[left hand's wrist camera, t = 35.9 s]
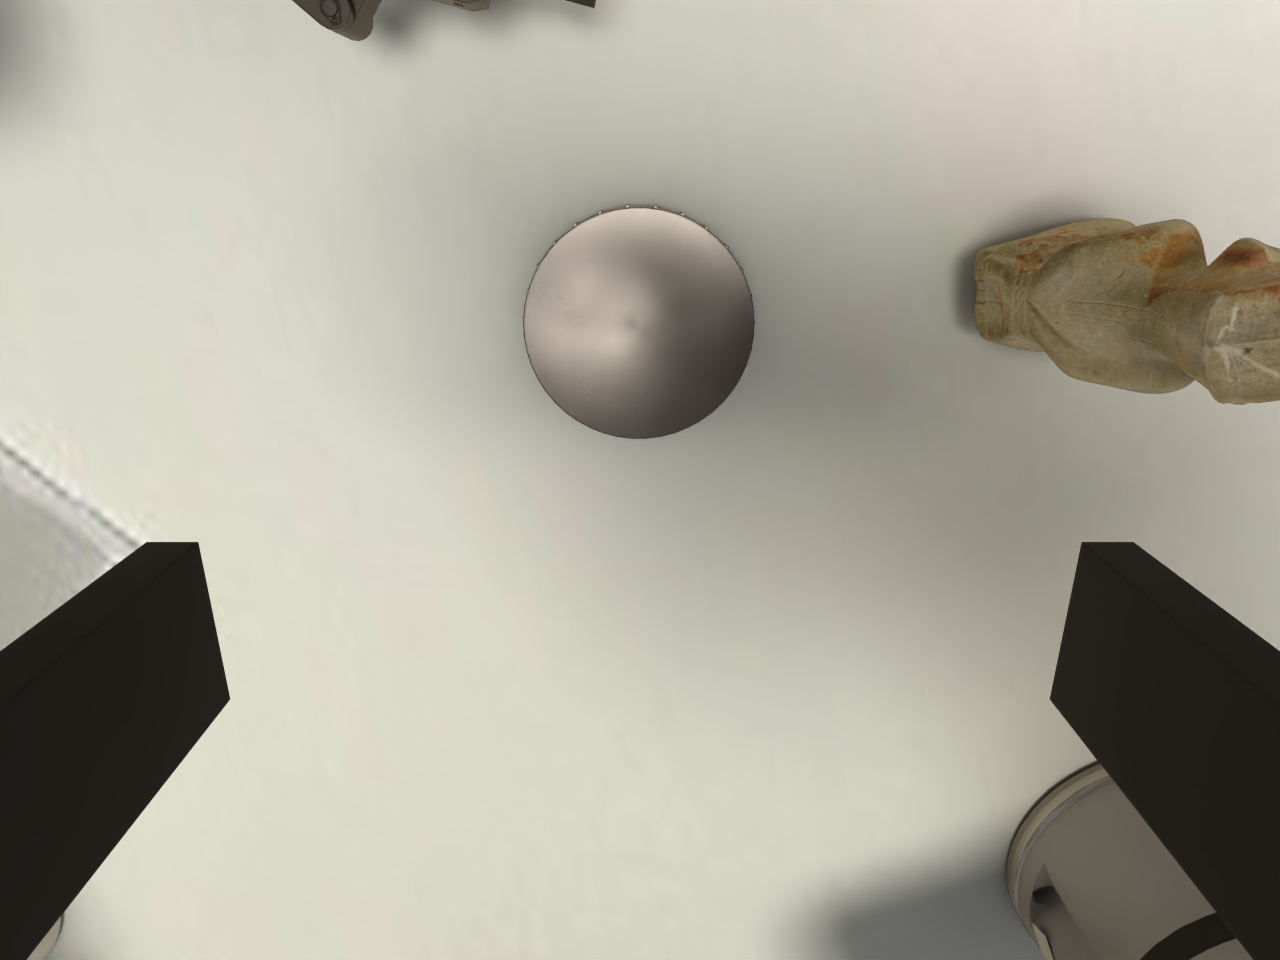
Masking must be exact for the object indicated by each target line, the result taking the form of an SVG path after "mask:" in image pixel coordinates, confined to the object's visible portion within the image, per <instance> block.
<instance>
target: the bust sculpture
mask: <svg viewBox="0 0 1280 960" xmlns="http://www.w3.org/2000/svg"><path fill="white" fill-rule="evenodd" d="M60 924H61V916H60V918H59V919H58V920H57V922H56V923H55V924H54V925H53V927H52V928H51V929H50V931H49V932H48V933H47V934H46V936H45V937H44V938H43V940H42V941H41V942H40V943H39V945H38V946H37V947H36V949H35V950H34V951H33V952H32V954H31V955H30V956H29V957H28V959H27V960H44V959H45V957H46V956H47V955H48V953H49V952H50V951H51V949H52V948H53V946H54V944H55V943H56V940H57V938H58V935H59V931H60Z"/></svg>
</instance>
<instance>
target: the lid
mask: <svg viewBox="0 0 1280 960" xmlns="http://www.w3.org/2000/svg"><path fill="white" fill-rule="evenodd" d="M707 229H708V227H707V226H705V225H704V226H702V225H700V224H699V223H697V222H695V221H694V220H692V219H690V218H688V217H686V216H684V213H682V212H680V214H679V213H677V212H674V211H670V210H667V209H663V208H657V206H656V205H654V207H650V206H629V204H627V205H626V207H620V208H615V209H611V210H608V211H604V212H603V211H602V210H601V211H599V214H596V215H594V216H592V217H589V218H587V219H586V220H584V221H582V222H581V223H578V222H577V223H575V224H574V227H573V228H572V229H571V230H569V231H568V232H567V233H566V234H565V235H563V236H562V237H561V238H560V239H559V240H555V241H554V242H553V244H554V245H553V246H552V247H551V248H550V249H549V251H548V252H547V254H546V255H545V256H544V258H543V259H542V261H541V262H539V263H538V264H537V267H538V268H537V270H536V272H535V274H534V275H533V278H532V281H531V283H530V286H529V288H528V289H527V297H526V302H525V307H524V316H523V324H524V338H525V346H526V350H527V353H528V356H529V360H530V363H531V366H532V368H533V370H534V372H535V374H536V376H537V378H538V380H539V382H540V383H541V385H542V386H543V388H544V390H545V391H546V392H547V394H548V395H549V396H550V397H551V398H552V400H553V401H554V402H555V403H556V404H557V405H558V406H559V407H560V408H561V409H562V410H563V411H565V412H566V413H567V414H568V415H570V416H571V417H573V418H574V419H575V420H577V421H578V422H580V423H582V424H584V425H586V426H587V427H589V428H592V429H594V430H597V431H599V432H602V433H605V434H609V435H612V436H616V437H623V438H631V439H647V438H655V437H661V436H665V435H669V434H673V433H676V432H679V431H681V430H684V429H686V428H689V427H690V426H692V425H694V424H696V423H698V422H699V421H701V420H703V419H704V418H705V417H707V416H708V415H709V414H711V413H712V412H713V411H714V410H715V409H716V408H718V407H719V406H720V405H721V404H722V403H723V402H724V401H725V399H726V398H727V397H728V396H729V395H730V393H731V392H732V391H733V389H734V388H735V386H736V384H737V383H738V381H739V380H740V378H741V376H742V374H743V372H744V369H745V367H746V365H747V362H748V359H749V356H750V352H751V350H752V343H753V337H754V324H755V321H754V310H753V303H752V298H751V297H752V294H751V293H750V290H749V287H748V284H747V282H746V279H745V276H744V274H743V272H742V271H743V269H742V268H741V267H740V266H739V265H738V263H737V261H736V260H735V258H734V257H733V256H732V254H731V253H730V251H729V250H728V249H727V248H728V246H727V245H726V244H725V243H724V244H723V243H722V242H721V241H720V240H719V239H718V238H717V237H716V236H714V235H713V234H712V233H711V232H709V231H708V230H707Z"/></svg>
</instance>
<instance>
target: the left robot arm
mask: <svg viewBox="0 0 1280 960" xmlns="http://www.w3.org/2000/svg"><path fill="white" fill-rule="evenodd" d="M229 700H230V696H229V691H228V686H227V681H226V676H225V671H224V666H223V662H222V657H221V652H220V647H219V642H218V637H217V632H216V627H215V622H214V617H213V612H212V607H211V603H210V598H209V593H208V588H207V583H206V578H205V573H204V568H203V563H202V558H201V553H200V549H199V544H198V542H146V543H145V544H144V545H142V546H141V547H140V548H138V549H137V550H136V551H134V552H133V553H131V554H130V555H129V556H127V557H126V558H125V559H123V560H122V561H121V562H119V563H118V564H117V565H115V566H114V567H113V568H111V569H110V570H109V571H107V572H106V573H105V574H103V575H102V576H101V577H99V578H98V579H97V580H95V581H94V582H93V583H91V584H90V585H89V586H87V587H86V588H85V589H83V590H82V591H81V592H79V593H78V594H77V595H75V596H74V597H72V598H71V599H70V600H68V601H67V602H66V603H64V604H63V605H62V606H60V607H59V608H58V609H56V610H55V611H54V612H52V613H51V614H50V615H48V616H47V617H46V618H44V619H43V620H42V621H40V622H39V623H38V624H36V625H35V626H34V627H32V628H31V629H30V630H28V631H27V632H26V633H24V634H23V635H22V636H20V637H19V638H18V639H16V640H15V641H14V642H12V643H11V644H9V645H8V646H7V647H5V648H4V649H3V650H1V651H0V960H27V959H28V957H29V956H30V955H31V954H32V952H33V951H34V950H35V949H36V947H37V946H38V945H39V943H40V942H41V941H42V940H43V938H44V937H45V936H46V934H47V933H48V932H49V931H50V929H51V928H52V927H53V925H54V924H55V923H56V922H57V920H58V919H59V918H60V916H61V915H62V914H63V913H64V911H65V910H66V909H67V908H68V906H69V905H70V904H71V902H72V901H73V900H74V899H75V897H76V896H77V895H78V893H79V892H80V891H81V890H82V888H83V887H84V886H85V884H86V883H87V882H88V881H89V879H90V878H91V877H92V875H93V874H94V873H95V872H96V870H97V869H98V868H99V867H100V865H101V864H102V863H103V861H104V860H105V859H106V858H107V856H108V855H109V854H110V852H111V851H112V850H113V849H114V847H115V846H116V845H117V843H118V842H119V841H120V840H121V838H122V837H123V836H124V835H125V833H126V832H127V831H128V829H129V828H130V827H131V826H132V824H133V823H134V822H135V820H136V819H137V818H138V817H139V815H140V814H141V813H142V811H143V810H144V809H145V808H146V806H147V805H148V804H149V802H150V801H151V800H152V799H153V797H154V796H155V795H156V794H157V792H158V791H159V790H160V788H161V787H162V786H163V785H164V783H165V782H166V781H167V779H168V778H169V777H170V776H171V774H172V773H173V772H174V770H175V769H176V768H177V767H178V765H179V764H180V763H181V762H182V760H183V759H184V758H185V756H186V755H187V754H188V753H189V751H190V750H191V749H192V747H193V746H194V745H195V744H196V742H197V741H198V740H199V738H200V737H201V736H202V735H203V733H204V732H205V731H206V729H207V728H208V727H209V726H210V724H211V723H212V722H213V721H214V719H215V718H216V717H217V715H218V714H219V713H220V712H221V710H222V709H223V708H224V706H225V705H226V704H227V703H228V701H229ZM1050 700H1051V701H1052V703H1053V704H1054V705H1055V706H1056V708H1057V709H1058V710H1059V712H1060V713H1061V714H1062V715H1063V717H1064V718H1065V719H1066V721H1067V722H1068V723H1069V724H1070V726H1071V727H1072V728H1073V729H1074V731H1075V732H1076V733H1077V735H1078V736H1079V737H1080V738H1081V740H1082V741H1083V742H1084V744H1085V745H1086V746H1087V747H1088V749H1089V750H1090V751H1091V753H1092V754H1093V755H1094V756H1095V758H1096V759H1097V760H1098V762H1099V763H1100V764H1098V765H1095V766H1093V767H1091V768H1089V769H1087V770H1085V771H1083V772H1081V773H1079V774H1077V775H1075V776H1074V777H1072V778H1070V779H1069V780H1067V781H1066V782H1064V783H1063V784H1061V785H1060V786H1059V787H1057V788H1056V789H1055V790H1053V791H1052V792H1051V793H1050V794H1049V795H1048V796H1046V797H1045V798H1044V799H1043V800H1042V801H1041V802H1040V803H1039V804H1038V805H1037V806H1036V807H1035V808H1034V810H1033V811H1032V812H1031V813H1030V815H1029V816H1028V817H1027V818H1026V820H1025V821H1024V823H1023V824H1022V826H1021V828H1020V829H1019V831H1018V833H1017V835H1016V837H1015V839H1014V841H1013V844H1012V847H1011V850H1010V853H1009V857H1008V863H1007V885H1008V891H1009V894H1010V898H1011V900H1012V903H1013V905H1014V907H1015V909H1016V911H1017V913H1018V915H1019V917H1020V919H1021V921H1022V923H1023V925H1024V927H1025V928H1026V930H1027V932H1028V933H1029V935H1030V936H1031V937H1032V939H1033V940H1034V941H1035V943H1036V944H1037V945H1038V947H1039V948H1040V949H1041V952H1042V955H1043V956H1044V957H1045V958H1046V959H1047V960H1280V651H1279V650H1277V649H1276V648H1275V647H1273V646H1272V645H1271V644H1269V643H1268V642H1266V641H1265V640H1264V639H1262V638H1261V637H1260V636H1258V635H1257V634H1256V633H1254V632H1253V631H1252V630H1250V629H1249V628H1248V627H1246V626H1245V625H1244V624H1242V623H1241V622H1240V621H1238V620H1237V619H1236V618H1234V617H1233V616H1232V615H1230V614H1229V613H1228V612H1226V611H1225V610H1224V609H1222V608H1221V607H1220V606H1218V605H1217V604H1216V603H1214V602H1213V601H1212V600H1210V599H1209V598H1208V597H1206V596H1205V595H1203V594H1202V593H1201V592H1199V591H1198V590H1197V589H1195V588H1194V587H1193V586H1191V585H1190V584H1189V583H1187V582H1186V581H1185V580H1183V579H1182V578H1181V577H1179V576H1178V575H1177V574H1175V573H1174V572H1173V571H1171V570H1170V569H1169V568H1167V567H1166V566H1165V565H1163V564H1162V563H1161V562H1159V561H1158V560H1157V559H1155V558H1154V557H1153V556H1151V555H1150V554H1149V553H1147V552H1146V551H1144V550H1143V549H1142V548H1140V547H1139V546H1138V545H1136V544H1135V543H1134V542H1082V544H1081V549H1080V553H1079V558H1078V563H1077V568H1076V573H1075V578H1074V583H1073V588H1072V593H1071V598H1070V603H1069V607H1068V612H1067V617H1066V622H1065V627H1064V632H1063V637H1062V642H1061V647H1060V652H1059V657H1058V662H1057V666H1056V671H1055V676H1054V681H1053V686H1052V691H1051V696H1050Z"/></svg>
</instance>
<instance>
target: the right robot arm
mask: <svg viewBox="0 0 1280 960" xmlns="http://www.w3.org/2000/svg"><path fill="white" fill-rule="evenodd" d="M293 1H294V2H295V3H296V4H297V5H298V6H300V7H301V8H302V9H303V10H304V11H305V12H307V13H308V14H309V15H310V16H311V17H312V18H314V19H315V20H316V21H317V22H318V23H319V24H321V25H322V26H324V27H326V28H327V29H329V30H331V31H334V32H336V33H338V34H340V35H342V36H344V37H347V38H349V39H351V40H356V41H360V40H363V39H366V38H367V37H368V36H369V35H370V34H371V31H372V28H373V16H374V14H375V12H376V10H377V8H378V6H379V4H380V2H381V1H382V0H293ZM433 1H437V2H441V3H445V4H448V5H452V6H456V7H459V8H463V9H466V10H470V11H478V10H484V9H489V3H490V0H433ZM567 1H571V2H574V3H578V4H581V5H585V6H589V7H592V8H594V7H595V2H596V0H567Z"/></svg>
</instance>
